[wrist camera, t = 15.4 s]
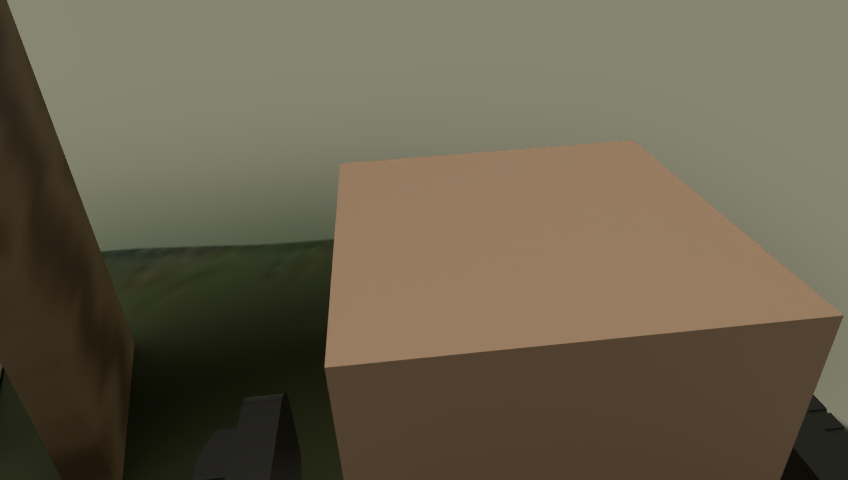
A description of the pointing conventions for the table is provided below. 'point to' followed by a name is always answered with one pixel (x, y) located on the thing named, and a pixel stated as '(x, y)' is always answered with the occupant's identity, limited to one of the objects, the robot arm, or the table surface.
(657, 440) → the terracotta carton
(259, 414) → the robot arm
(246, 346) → the table surface
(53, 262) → the walnut shelf
